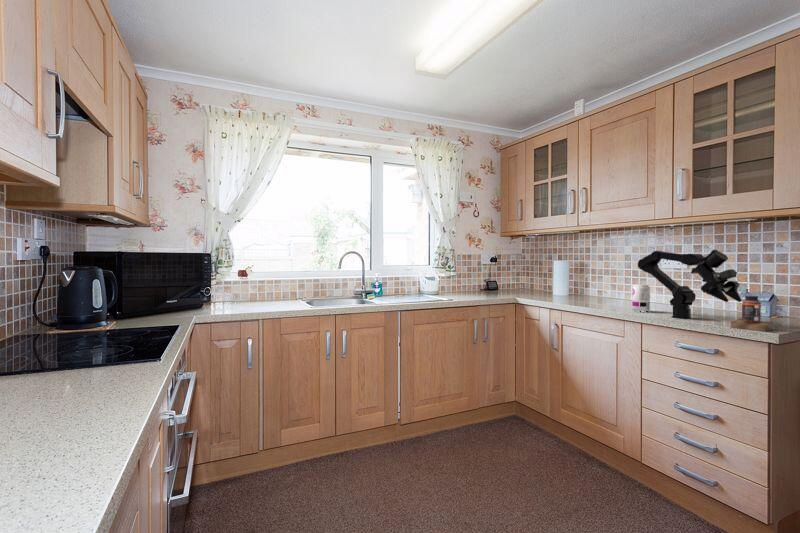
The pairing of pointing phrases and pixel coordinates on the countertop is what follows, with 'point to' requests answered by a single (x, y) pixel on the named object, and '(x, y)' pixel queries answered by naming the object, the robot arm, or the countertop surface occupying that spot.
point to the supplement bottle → (751, 309)
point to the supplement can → (641, 297)
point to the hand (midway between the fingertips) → (734, 301)
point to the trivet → (751, 325)
